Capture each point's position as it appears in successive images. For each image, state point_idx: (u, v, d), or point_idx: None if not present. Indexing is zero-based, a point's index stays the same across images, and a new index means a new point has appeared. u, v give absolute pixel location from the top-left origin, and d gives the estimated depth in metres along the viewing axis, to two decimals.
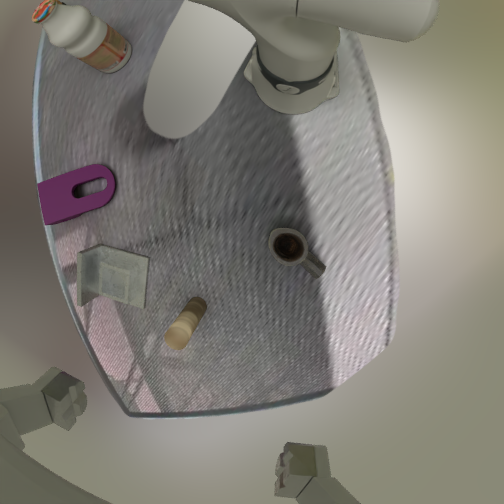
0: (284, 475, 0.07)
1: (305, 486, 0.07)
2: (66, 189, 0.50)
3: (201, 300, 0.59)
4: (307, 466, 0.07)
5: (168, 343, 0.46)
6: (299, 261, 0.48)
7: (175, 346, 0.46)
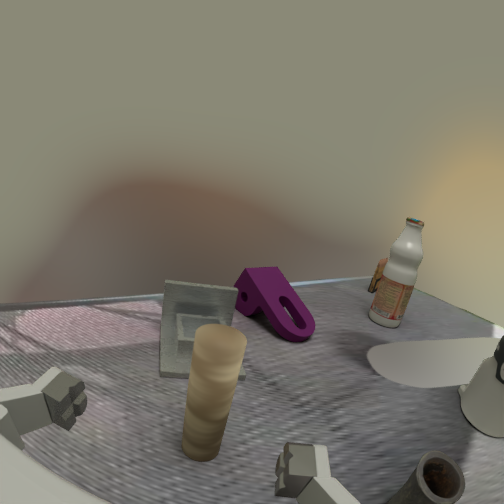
0: (284, 475, 0.07)
1: (305, 486, 0.07)
2: (282, 291, 0.59)
3: (219, 448, 0.25)
4: (307, 466, 0.07)
5: (204, 327, 0.22)
6: (443, 500, 0.12)
7: (203, 336, 0.21)
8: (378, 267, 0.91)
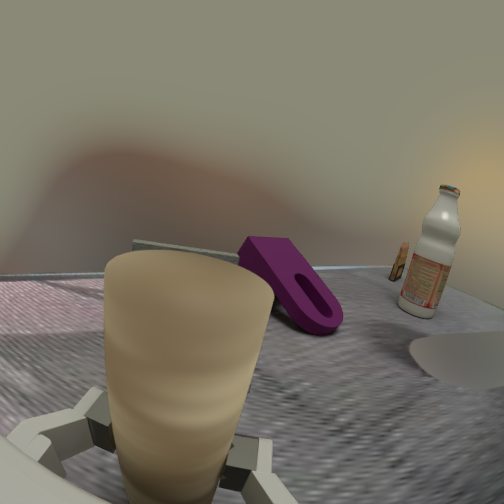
0: (224, 466, 0.07)
1: (247, 480, 0.07)
2: (298, 268, 0.44)
3: None
4: (247, 459, 0.07)
5: (145, 254, 0.07)
6: None
7: (132, 269, 0.06)
8: (400, 251, 0.77)
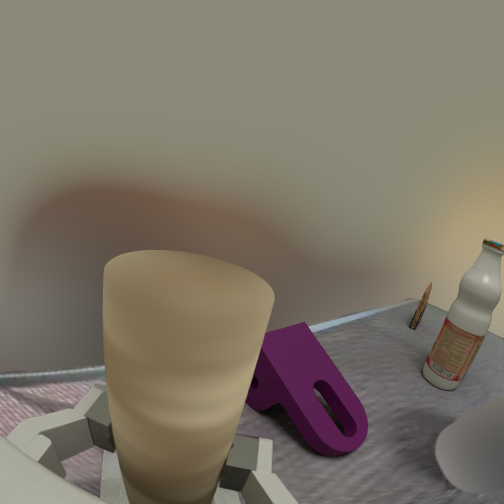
0: (224, 466, 0.07)
1: (247, 480, 0.07)
2: (317, 370, 0.32)
3: None
4: (247, 458, 0.07)
5: (145, 255, 0.07)
6: None
7: (132, 270, 0.06)
8: (424, 297, 0.64)
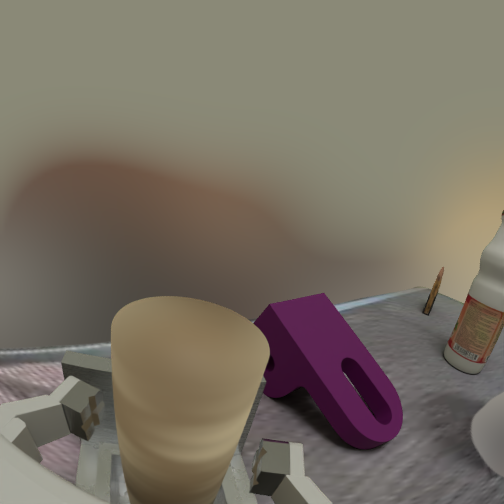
0: (257, 471, 0.07)
1: (279, 484, 0.07)
2: (343, 347, 0.27)
3: None
4: (280, 463, 0.07)
5: (148, 304, 0.08)
6: None
7: (137, 327, 0.06)
8: (438, 280, 0.60)
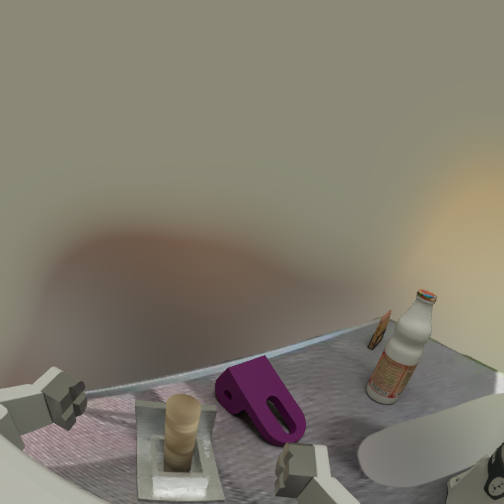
0: (284, 475, 0.07)
1: (305, 486, 0.07)
2: (270, 389, 0.49)
3: None
4: (307, 466, 0.07)
5: (173, 398, 0.29)
6: None
7: (171, 405, 0.28)
8: (380, 324, 0.81)
